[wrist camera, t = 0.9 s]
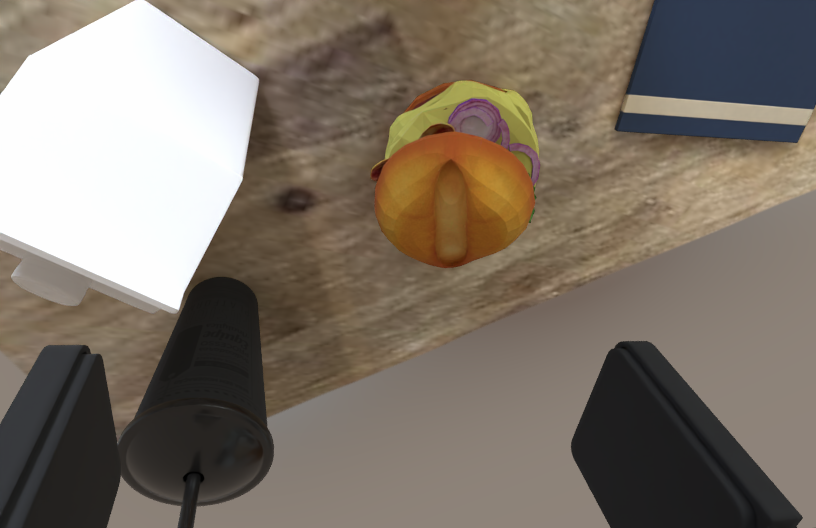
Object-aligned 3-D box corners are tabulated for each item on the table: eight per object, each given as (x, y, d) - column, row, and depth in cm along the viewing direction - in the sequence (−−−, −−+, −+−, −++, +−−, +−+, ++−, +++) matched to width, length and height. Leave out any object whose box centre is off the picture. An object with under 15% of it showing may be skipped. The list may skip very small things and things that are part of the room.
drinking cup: (152, 331, 40) (54, 626, 23) (184, 244, 37) (99, 512, 20) (255, 357, 43) (235, 637, 26) (293, 279, 40) (298, 538, 23)
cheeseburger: (561, 149, 38) (599, 240, 31) (436, 226, 43) (442, 322, 35) (481, 30, 33) (503, 104, 25) (347, 131, 37) (332, 220, 30)
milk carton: (140, -4, 29) (-35, 86, 13) (260, 77, 32) (235, 229, 16) (82, 106, 31) (-127, 295, 16) (200, 172, 35) (126, 386, 19)
